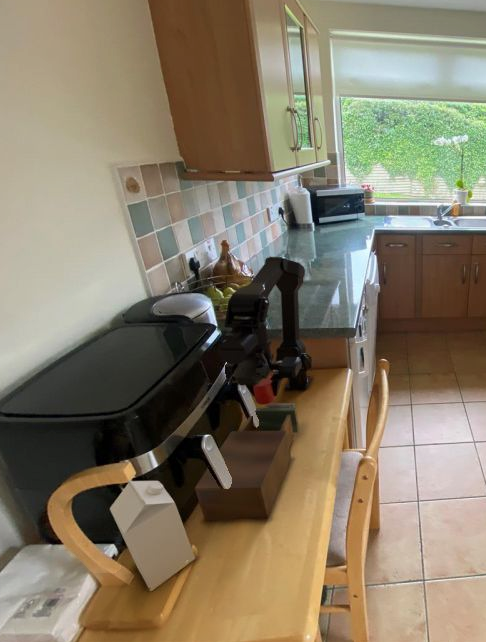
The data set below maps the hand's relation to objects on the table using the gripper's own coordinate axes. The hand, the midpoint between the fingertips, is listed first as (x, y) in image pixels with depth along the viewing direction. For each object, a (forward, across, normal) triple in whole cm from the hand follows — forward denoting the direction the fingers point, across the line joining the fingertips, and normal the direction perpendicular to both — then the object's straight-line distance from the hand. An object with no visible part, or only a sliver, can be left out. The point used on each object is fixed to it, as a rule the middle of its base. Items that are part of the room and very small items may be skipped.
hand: (265, 395), depth 95 cm
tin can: (+1, 0, 0) cm, 1 cm away
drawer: (+10, +2, -6) cm, 12 cm away
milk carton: (+12, -7, -34) cm, 37 cm away
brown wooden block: (+12, +2, -18) cm, 22 cm away
